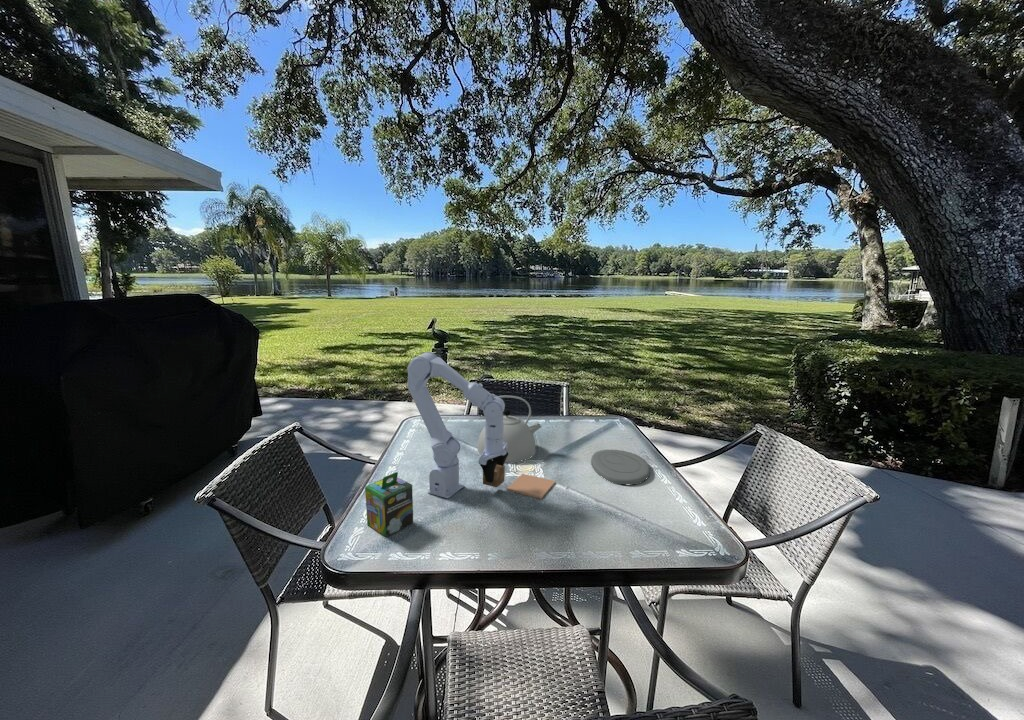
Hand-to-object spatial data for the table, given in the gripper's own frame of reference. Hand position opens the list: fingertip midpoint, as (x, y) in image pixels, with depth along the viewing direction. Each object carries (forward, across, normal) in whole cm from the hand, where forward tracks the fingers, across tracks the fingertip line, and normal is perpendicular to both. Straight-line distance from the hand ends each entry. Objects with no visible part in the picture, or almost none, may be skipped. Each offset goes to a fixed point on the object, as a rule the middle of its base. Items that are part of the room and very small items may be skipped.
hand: (493, 477), depth 132 cm
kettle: (+5, +32, +11) cm, 35 cm away
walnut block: (+2, 0, 0) cm, 2 cm away
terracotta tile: (+5, +9, -9) cm, 14 cm away
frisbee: (+5, +37, -32) cm, 49 cm away
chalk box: (+5, -29, +16) cm, 33 cm away
